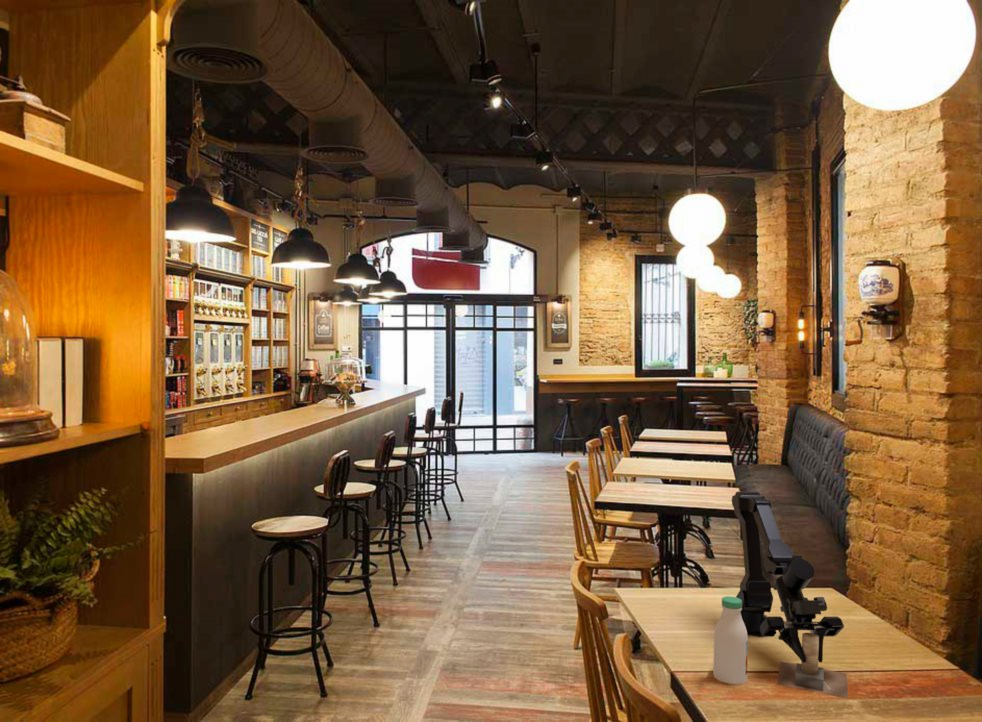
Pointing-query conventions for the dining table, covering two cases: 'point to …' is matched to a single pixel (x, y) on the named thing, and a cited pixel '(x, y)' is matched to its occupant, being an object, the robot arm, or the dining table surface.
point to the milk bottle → (730, 644)
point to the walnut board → (832, 686)
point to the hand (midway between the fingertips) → (812, 661)
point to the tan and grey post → (810, 664)
